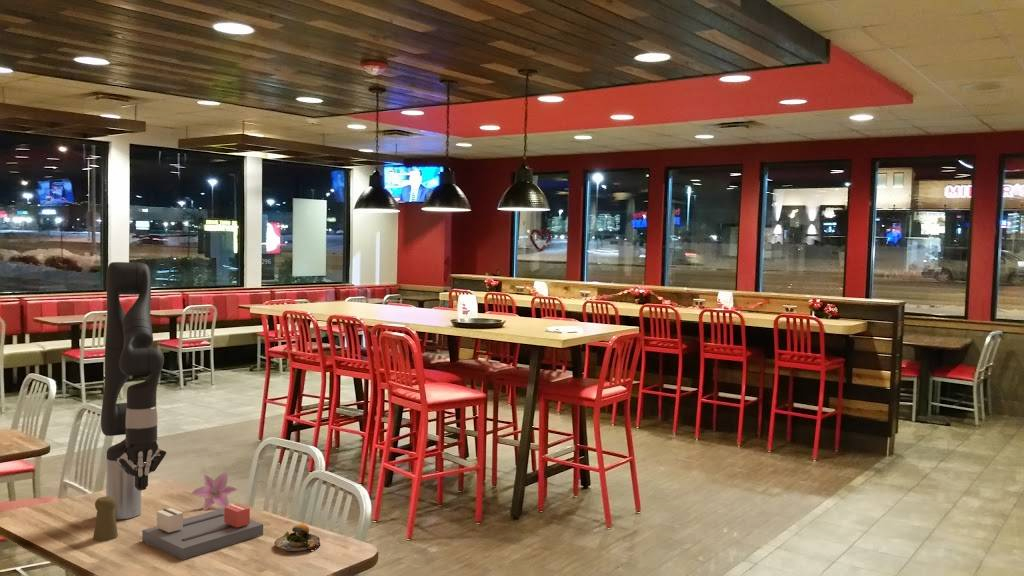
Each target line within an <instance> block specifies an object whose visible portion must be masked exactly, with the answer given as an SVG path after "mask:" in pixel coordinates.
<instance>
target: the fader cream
mask: <svg viewBox="0 0 1024 576" xmlns="http://www.w3.org/2000/svg"><path fill="white" fill-rule="evenodd" d="M183 519H184V512H182V511H179V510H177V509H174V508H172V507H169V508H163V509H162V510H157V511H156V526H157V528H159V529H162V530H164V531H166V532H168V533H169V532H173V531H176V530H180V529H183Z"/></svg>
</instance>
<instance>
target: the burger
mask: <svg viewBox="0 0 1024 576" xmlns="http://www.w3.org/2000/svg"><path fill="white" fill-rule="evenodd" d="M303 519H305V517H304V518H303ZM291 531H292V532H288V530H286V532H284V535H282V536H279V538H277V539H276V540H275V541H274V542H273V543H274V545H275V546H276V547H278V548H280V549H281V550H284V551H289V552H299V551H300V552H302V551H307V550H309V549H310V550H309V551H310V552H312V551H311V550H314V549H315V548H316V549H318V548H317V547H318V546H319V545H320V546H321V541H320V540H321V539H320V537H319V536H317V535H315V534H313V533H309V532H310V528H309V527H308V525H307V524H304V523H299V524H296V525H294V526H293V527H292V529H291ZM314 551H315V550H314Z"/></svg>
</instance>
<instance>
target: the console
mask: <svg viewBox="0 0 1024 576" xmlns="http://www.w3.org/2000/svg"><path fill="white" fill-rule="evenodd" d="M141 530H142V531H141V532H142V533H141V535H142V538H141V539H142V541H141V542H143V543H145V544H148V545H150V546H152V547H154V548H156V549H158V550H160V551H162V552H164V553H166V554H169V555H171V556H172V557H174V558H178V559H180V560H181V561H184V560H187V559H190V558H194V557H196V556H197V557H198V556H200V555H203V554H205V553H209V552H212V551H216V550H219V549H222V548H225V547H230V546H232V545H235V544H238V543H241V542H244V541H248V540H252V539H254V538H257V537H260V536H261V537H262V536H264V523H262V522H259V521H256V520H253V519H251V518H250V524H248V525H244V526H241V527H238V528H236V527H234V526H231V525H229V524H226V523H224V508H220V509H216V510H213V511H212V510H211V511H208V512H205V513H201V514H197V515H193V516H189V517H186V518H183V529H180V530H176V531H173V532H169V533H168V532H166V531H164V530H162V529H159V528H157V525H156V526H152V527H149V528H144V529H141Z"/></svg>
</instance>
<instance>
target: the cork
mask: <svg viewBox="0 0 1024 576" xmlns="http://www.w3.org/2000/svg"><path fill="white" fill-rule="evenodd" d="M115 507H116V499H115V498H114V497H111V496H101V497H98V498H97V499H96V500H95V502H94V508H95V509H96V517H95V524H94V530H93V538H92V539H93V541H95V542H107V541H113V540H114V539H117V538H118V536H119V533H118V526H117V519H115V512H114V508H115Z"/></svg>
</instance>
